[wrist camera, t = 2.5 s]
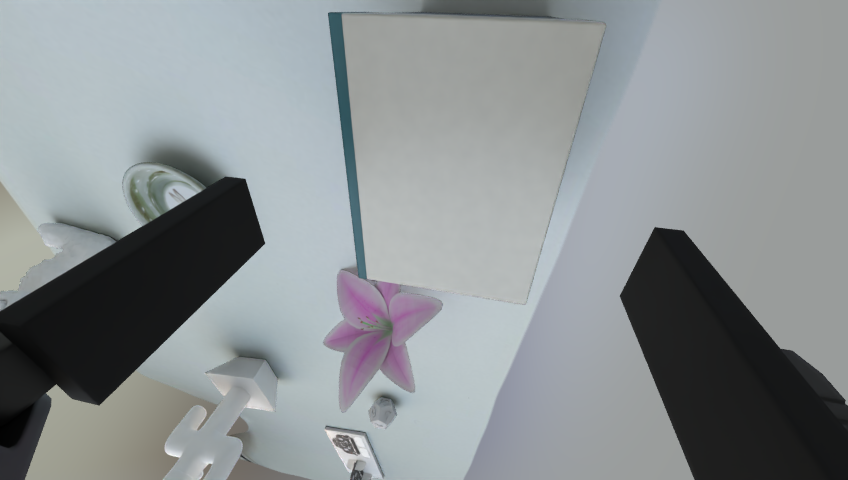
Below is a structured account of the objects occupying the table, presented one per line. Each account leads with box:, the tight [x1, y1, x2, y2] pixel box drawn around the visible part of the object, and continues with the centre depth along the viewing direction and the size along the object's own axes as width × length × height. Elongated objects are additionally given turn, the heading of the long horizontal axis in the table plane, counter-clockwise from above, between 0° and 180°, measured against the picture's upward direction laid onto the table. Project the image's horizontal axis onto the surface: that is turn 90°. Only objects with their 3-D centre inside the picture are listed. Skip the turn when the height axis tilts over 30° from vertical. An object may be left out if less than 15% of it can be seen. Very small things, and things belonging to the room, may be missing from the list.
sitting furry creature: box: [0, 223, 117, 311], centre depth 33 cm, size 10×9×12 cm
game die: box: [368, 397, 397, 429], centre depth 42 cm, size 4×4×3 cm
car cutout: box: [324, 427, 384, 480], centre depth 53 cm, size 15×7×4 cm, turn 7°
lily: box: [323, 270, 443, 412], centre depth 29 cm, size 12×12×10 cm
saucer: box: [122, 162, 206, 226], centre depth 30 cm, size 10×10×2 cm
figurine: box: [163, 357, 278, 480], centre depth 40 cm, size 7×9×15 cm
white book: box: [328, 12, 606, 305], centre depth 15 cm, size 12×9×4 cm
